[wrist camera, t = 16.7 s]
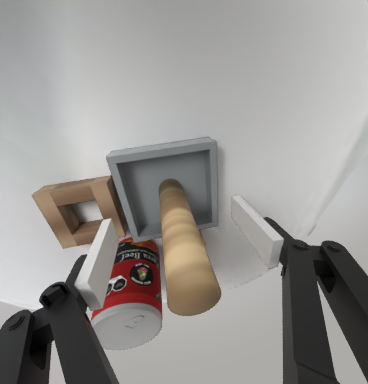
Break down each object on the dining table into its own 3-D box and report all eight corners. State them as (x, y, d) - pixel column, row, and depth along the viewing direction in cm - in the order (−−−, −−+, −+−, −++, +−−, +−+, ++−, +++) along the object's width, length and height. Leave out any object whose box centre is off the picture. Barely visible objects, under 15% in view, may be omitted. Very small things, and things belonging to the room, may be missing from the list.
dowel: (156, 181, 22) (163, 289, 9) (180, 177, 22) (221, 275, 9) (160, 201, 24) (171, 321, 10) (183, 197, 24) (221, 308, 11)
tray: (112, 151, 20) (105, 157, 17) (208, 137, 21) (216, 141, 19) (135, 229, 26) (134, 242, 23) (211, 214, 27) (218, 226, 24)
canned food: (166, 242, 28) (174, 314, 18) (147, 274, 30) (144, 352, 21) (121, 229, 25) (101, 304, 15) (103, 265, 28) (77, 350, 18)
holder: (44, 186, 21) (31, 195, 18) (111, 175, 21) (106, 183, 19) (71, 235, 24) (63, 248, 22) (127, 225, 25) (125, 236, 23)
